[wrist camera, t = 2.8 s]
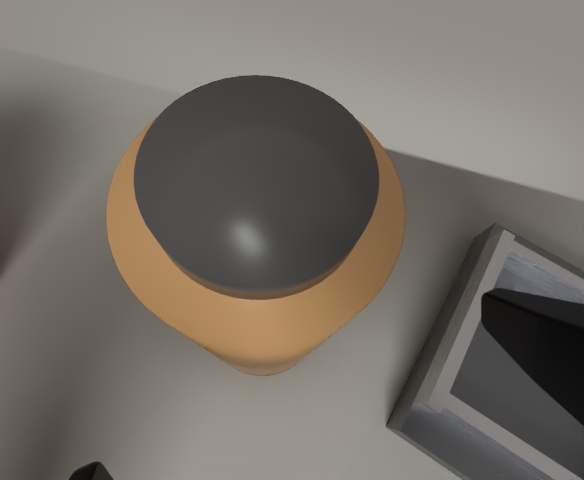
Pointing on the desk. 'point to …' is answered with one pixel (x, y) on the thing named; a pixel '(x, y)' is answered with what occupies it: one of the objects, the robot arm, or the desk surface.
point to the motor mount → (491, 376)
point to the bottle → (256, 219)
